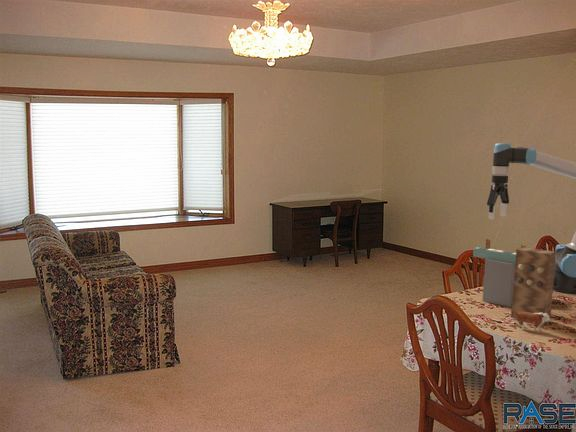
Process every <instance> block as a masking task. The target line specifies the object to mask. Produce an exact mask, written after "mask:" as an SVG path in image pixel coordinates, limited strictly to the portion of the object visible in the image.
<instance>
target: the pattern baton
mask: <svg viewBox="0 0 576 432" xmlns="http://www.w3.org/2000/svg"><path fill="white" fill-rule="evenodd" d="M472 256H473V257H474V258H479V259H491V260H497V261H503V262H508V263H514V264H515V260H516V252H512V251H508V250H507V251H505V250H501V249H496V248H495V249H494V248H487V247H482V246H481V247H480V246H476V247H473V251H472Z"/></svg>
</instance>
